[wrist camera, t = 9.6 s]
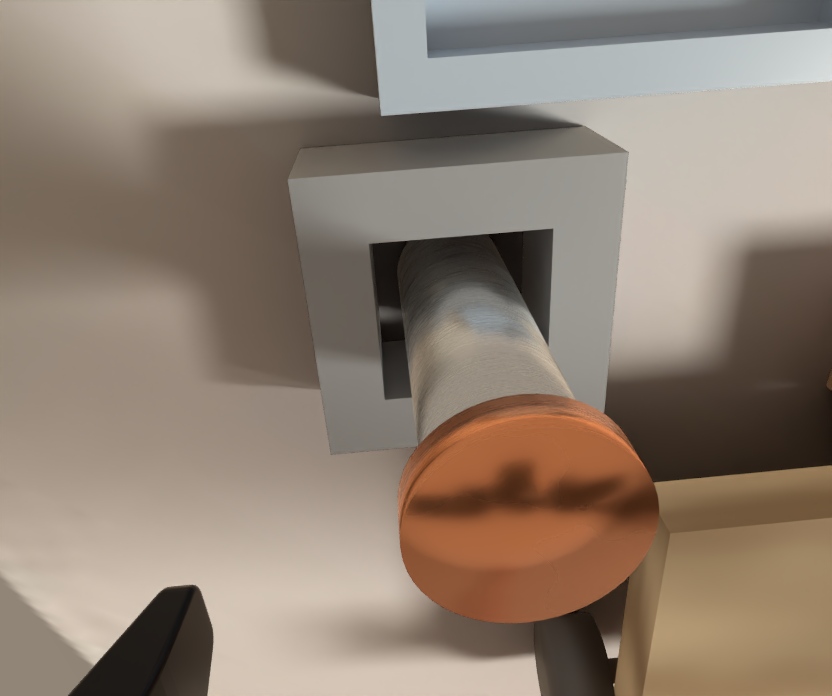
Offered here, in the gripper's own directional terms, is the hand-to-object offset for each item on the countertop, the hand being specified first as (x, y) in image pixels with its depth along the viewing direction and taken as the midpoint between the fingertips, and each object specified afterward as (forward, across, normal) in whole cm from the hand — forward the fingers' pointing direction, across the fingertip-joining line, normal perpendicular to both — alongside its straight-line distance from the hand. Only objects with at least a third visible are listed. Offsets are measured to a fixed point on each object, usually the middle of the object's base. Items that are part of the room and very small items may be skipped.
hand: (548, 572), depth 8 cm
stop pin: (+10, 0, 0) cm, 10 cm away
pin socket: (+10, 0, 0) cm, 10 cm away
